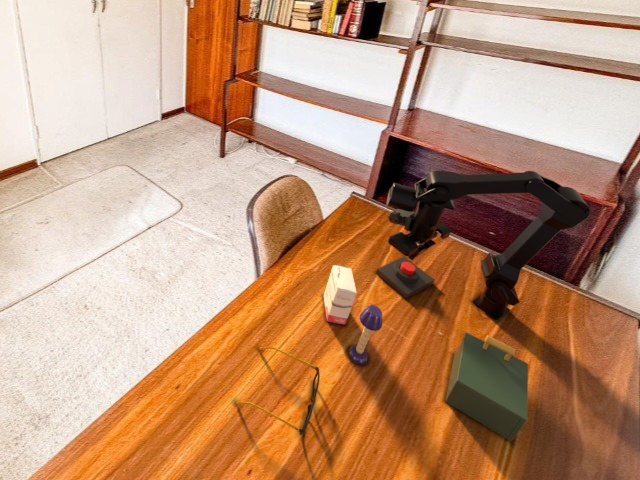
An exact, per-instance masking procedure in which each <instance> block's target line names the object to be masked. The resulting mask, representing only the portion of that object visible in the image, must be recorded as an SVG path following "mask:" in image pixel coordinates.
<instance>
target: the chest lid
mask: <svg viewBox="0 0 640 480" xmlns="http://www.w3.org/2000/svg"><path fill="white" fill-rule="evenodd" d="M463 338H464V340H463V339H462V340H463V346H462V351H461V357H460V363H459V368H458V374H457V380H456V383H458V384H460V385H461V386H463V387H465V388H467V389H468V390H470V391H472V392H474V393H475V394H477V395H479V396H480V397H482V398H484V399H486V400H487V401H489V402H491V403H493V404H494V405H496V406H498V407H500V408H501V409H503V410H505V411H506V412H508V413H510V414H512V415H513V416H515V417H517V418H519V419H520V420H522V421H524V422H525V423H527V421H528V396H529V395H528V394H529V393H528V392H529V391H528V389H529V388H528V387H529V386H528V385H529V363H528V362H525V361H524V360H521V359H520V358H518V357H516V356H515V354H516V348H514V347H512V346H511V345H509V344H506V343H505V342H502V341H500V340H498V339H496V338H494V337H492V336H490V335H488V334H487V335H486V336H485V339H484V340H482V339H480V338H479V337H476V336H475V335H472V334H471V333H469V332H467V331H465V332H464V335H463Z"/></svg>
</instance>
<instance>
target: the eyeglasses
mask: <svg viewBox="0 0 640 480" xmlns="http://www.w3.org/2000/svg"><path fill="white" fill-rule="evenodd" d="M268 349H270V350H275V351H277V352H279V353H281V354H283V355H285V356H287V357H289V358H291V359H293V360H296V361H298V362H300V363H301V364H304V365H306V366H308V367H309V368H311V369H313V370H315V374H314V377H313V380H312V387H311V395H310V398H309V401H310V402H311V403H310V404H308V405H307V406H306V407H307V413H306V416H305V419H304V421H303V425H302V427H301V428H299V427H298V426H296V425H294V424H293V423H291V422H289V421H287V420H285V419H283V418H282V417H280V416H277V415H276V414H274V413H273V412H270V411H269V410H267V409H265V408H263V407H262V406H259V405H257V404H254V402H253V403H252V402H250V401H236V402H235V403H236V405H237V406H243V405H250V406H253V407H255V408H257V409H259V410H260V411H263V412H265V414H268V415H269V416H271V417H273V418H275V419H276V420H278V421H280V422H282V423H284V424H285V425H287V426H288V427H290V428H292V429H294V430H295V431H297V432H299V435H300V436H302V435H303V434H304V432H305V429H306V428H307V427H308V424H309V422H310V419H311V417H312V414H313V409H314V405H315V403H316V397H317V394H318V390H319V385H320V377H321V376H320V375H321V374H320V368H319V367H318V366H316V365H313V364H311V363H309V362H307V361H305V360H303V359H301V358H299V357H296V356H294V355H292V354H290V353H287V352H286V351H283V350H281V349H279V348H277V347H273V346H261V347H258V350H260V351H264V350H268ZM316 379H317V380H316ZM316 381H317V382H316ZM315 383H316V385H315Z"/></svg>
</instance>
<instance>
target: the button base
mask: <svg viewBox="0 0 640 480" xmlns="http://www.w3.org/2000/svg"><path fill="white" fill-rule="evenodd" d="M403 262H409V263H411V264H413V265H414V266H415V268H416V269H415V272H414V274H413V275H407V274H405V273H403V272H402V271H401V270H400V267H401V264H402V263H403ZM375 274H376V275H377V276H379V278H381V279H382V280H383V281H385V282H386V283H387V284H388V285H389V286H390V287H391V288H393V289H394V290H395V291H397V292H398V293H399V294H400V295H401V296H402V297H403V298H404V299H408V298H410V297H412V296H414V295H415V294H417V293H419V292H420V291H422V290H425V289H426V288H428V287H429V286H432V285H433V284H434V282H435V278H433V277H432V276H430V274H428V273H427V272H426V271H424V270H423V269H421V268H420V267H419V266H417V265H416V264H415V263H413V261H412V260H410V259H409V258H407V257H406V256H405V255H403V256H401V257H399V258H397V259H395V260H393V261H391V262H388V263H387V264H385V265H382V266H380V267H379V268H377V269H376V271H375Z"/></svg>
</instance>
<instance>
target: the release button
mask: <svg viewBox="0 0 640 480" xmlns="http://www.w3.org/2000/svg"><path fill="white" fill-rule="evenodd" d="M413 264H414V263H413ZM413 264H411V263H409V262H403V263H402V264H401V267H400V270H401V271H402V272H403V273H405V274H407V275H413V274H414V272H415V269H416V268H415V266H414V265H413Z"/></svg>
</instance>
